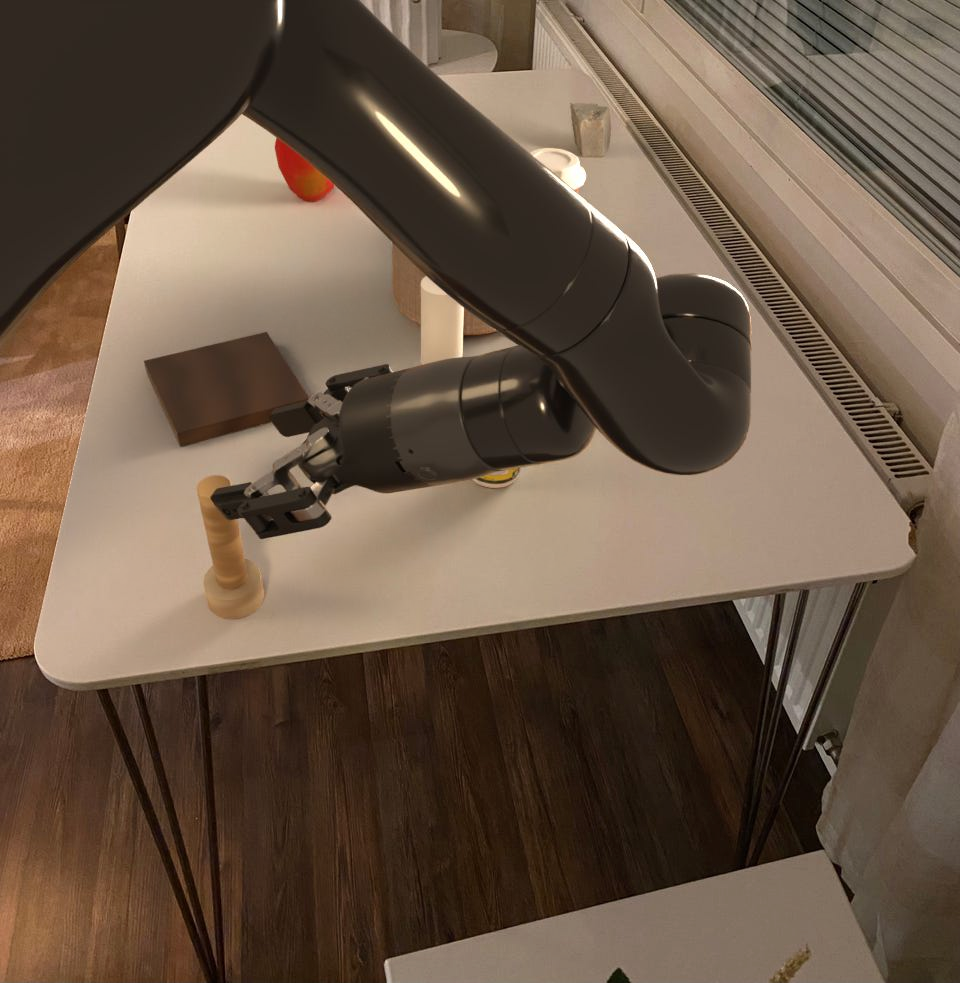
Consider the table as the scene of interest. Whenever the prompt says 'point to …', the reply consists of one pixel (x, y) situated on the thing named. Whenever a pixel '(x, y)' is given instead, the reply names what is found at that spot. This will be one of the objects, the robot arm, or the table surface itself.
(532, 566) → the table surface
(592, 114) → the mineral specimen
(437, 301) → the tube
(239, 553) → the wooden peg stand
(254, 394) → the board
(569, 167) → the coffee cup
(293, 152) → the apple
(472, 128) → the robot arm
